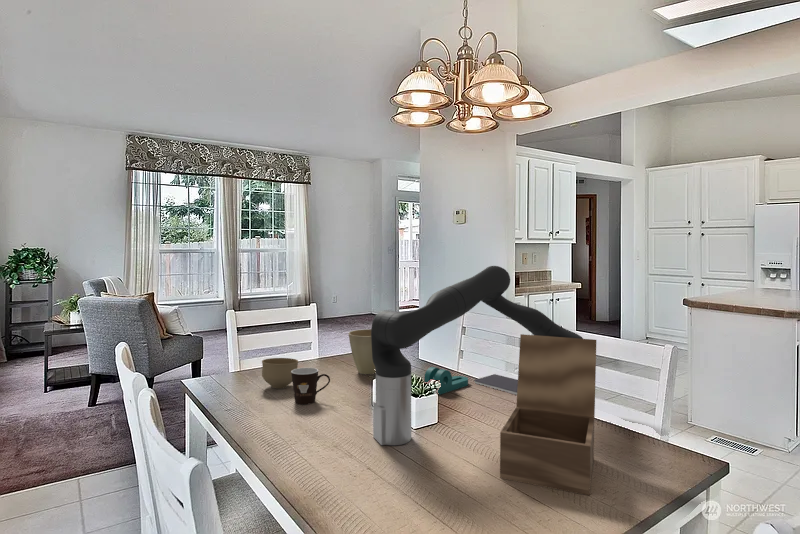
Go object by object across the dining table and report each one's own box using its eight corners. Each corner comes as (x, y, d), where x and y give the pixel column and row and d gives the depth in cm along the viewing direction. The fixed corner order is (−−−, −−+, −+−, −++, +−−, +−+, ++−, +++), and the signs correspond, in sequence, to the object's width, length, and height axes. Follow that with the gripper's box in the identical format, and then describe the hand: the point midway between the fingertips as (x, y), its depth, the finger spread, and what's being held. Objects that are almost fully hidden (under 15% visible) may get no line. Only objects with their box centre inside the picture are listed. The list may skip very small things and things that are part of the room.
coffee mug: (286, 403, 153) (285, 372, 152) (301, 396, 161) (301, 366, 160) (317, 408, 149) (317, 376, 148) (331, 400, 156) (331, 369, 156)
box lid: (516, 406, 120) (517, 406, 121) (594, 417, 112) (594, 416, 113) (520, 334, 123) (521, 334, 124) (596, 339, 116) (596, 340, 117)
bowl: (306, 385, 173) (305, 358, 172) (279, 395, 162) (279, 365, 162) (281, 380, 180) (280, 354, 179) (254, 389, 169) (253, 360, 168)
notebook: (543, 390, 168) (494, 378, 184) (543, 386, 168) (494, 373, 184) (522, 398, 160) (473, 384, 176) (522, 393, 160) (473, 380, 176)
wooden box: (516, 446, 120) (516, 406, 120) (593, 459, 113) (594, 417, 112) (500, 477, 104) (500, 432, 103) (589, 495, 96) (590, 446, 96)
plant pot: (341, 372, 191) (340, 332, 190) (370, 365, 201) (370, 328, 201) (364, 379, 180) (364, 337, 180) (394, 372, 190) (394, 332, 190)
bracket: (439, 395, 162) (439, 372, 161) (424, 391, 167) (424, 368, 166) (471, 384, 174) (472, 363, 174) (457, 380, 179) (457, 360, 179)
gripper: (539, 344, 138) (529, 357, 122) (588, 348, 132) (584, 362, 116) (538, 370, 138) (528, 386, 122) (588, 376, 132) (584, 393, 117)
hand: (556, 375), depth 119 cm, fingers closed
